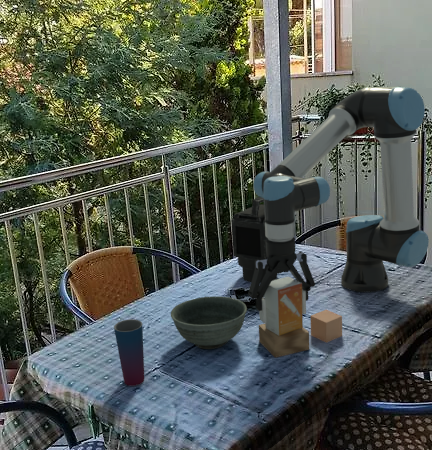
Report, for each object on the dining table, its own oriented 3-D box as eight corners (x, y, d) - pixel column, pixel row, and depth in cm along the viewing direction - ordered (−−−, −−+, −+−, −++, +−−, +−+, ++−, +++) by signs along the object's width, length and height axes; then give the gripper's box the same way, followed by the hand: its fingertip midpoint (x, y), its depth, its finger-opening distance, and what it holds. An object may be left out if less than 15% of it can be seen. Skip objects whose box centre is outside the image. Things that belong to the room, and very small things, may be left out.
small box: (279, 336, 153) (277, 289, 149) (264, 328, 158) (262, 282, 154) (303, 328, 157) (302, 282, 153) (288, 320, 162) (287, 275, 158)
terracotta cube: (326, 329, 166) (326, 309, 165) (342, 336, 162) (342, 316, 160) (310, 335, 163) (310, 315, 162) (326, 343, 158) (326, 322, 157)
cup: (121, 374, 149) (115, 320, 145) (148, 372, 149) (142, 318, 145) (119, 389, 142) (112, 332, 138) (147, 386, 143) (141, 330, 139)
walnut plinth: (292, 334, 165) (291, 317, 163) (309, 349, 155) (309, 332, 154) (259, 341, 161) (258, 324, 160) (275, 357, 152) (274, 340, 151)
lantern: (253, 266, 219) (249, 188, 211) (296, 274, 209) (293, 192, 201) (230, 280, 207) (225, 197, 199) (274, 288, 197) (271, 201, 189)
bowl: (193, 368, 150) (190, 332, 147) (161, 337, 168) (158, 305, 165) (262, 346, 159) (261, 312, 156) (225, 319, 177) (223, 288, 174)
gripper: (313, 227, 157) (315, 303, 163) (232, 240, 150) (236, 319, 156) (328, 234, 150) (328, 313, 156) (243, 248, 143) (247, 331, 149)
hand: (282, 316), depth 156 cm, fingers open, 11 cm apart
